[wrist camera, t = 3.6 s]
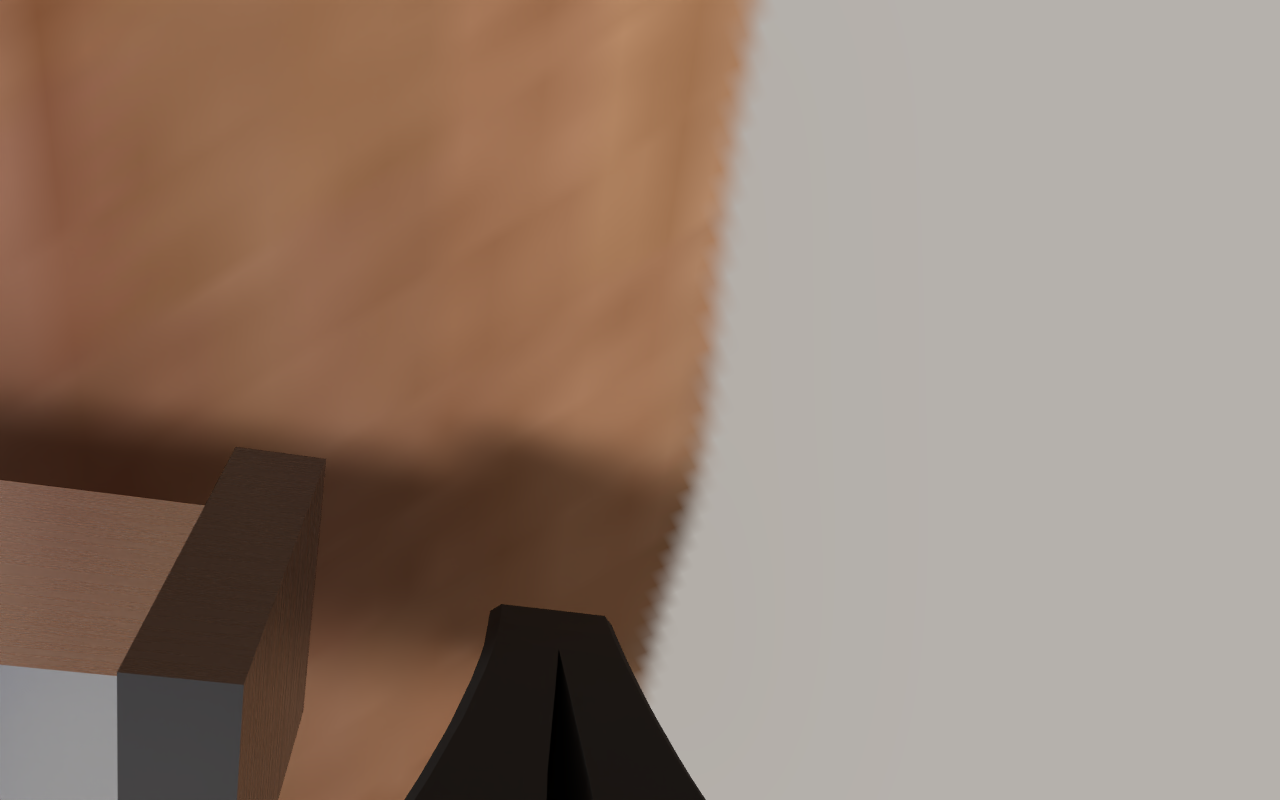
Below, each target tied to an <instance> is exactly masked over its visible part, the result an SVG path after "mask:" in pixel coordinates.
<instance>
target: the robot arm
mask: <svg viewBox="0 0 1280 800" xmlns="http://www.w3.org/2000/svg"><path fill="white" fill-rule="evenodd" d="M405 800H705V798H704V796H703V795H702V794H701V792H700V791H699V789H698V787H697V786H696V784H695V783H694V781H693V780H692V778H691V777H690V775H689V773H688V772H687V770H686V768H685V767H684V765H683V764H682V762H681V760H680V759H679V757H678V755H677V754H676V752H675V750H674V748H673V747H672V745H671V743H670V742H669V740H668V738H667V736H666V734H665V733H664V731H663V729H662V727H661V726H660V724H659V722H658V720H657V719H656V717H655V715H654V713H653V711H652V710H651V708H650V706H649V704H648V702H647V700H646V698H645V696H644V694H643V692H642V690H641V688H640V686H639V684H638V682H637V680H636V678H635V676H634V674H633V672H632V670H631V668H630V666H629V664H628V662H627V659H626V657H625V655H624V653H623V651H622V649H621V646H620V644H619V642H618V639H617V637H616V635H615V632H614V630H613V627H612V625H611V624H610V623H609V621H608V620H607V619H606V617H605V616H599V615H590V614H582V613H573V612H564V611H556V610H547V609H538V608H530V607H521V606H513V605H504V604H501V605H500V606H498V607H496V608H495V609H493V610H491V611H490V616H489V621H488V627H487V632H486V638H485V643H484V647H483V650H482V653H481V656H480V659H479V661H478V664H477V666H476V669H475V671H474V674H473V676H472V679H471V681H470V683H469V685H468V687H467V689H466V692H465V694H464V696H463V698H462V700H461V702H460V704H459V706H458V708H457V710H456V712H455V714H454V717H453V719H452V721H451V723H450V724H449V726H448V728H447V730H446V732H445V734H444V735H443V737H442V739H441V740H440V742H439V744H438V746H437V747H436V749H435V751H434V752H433V754H432V756H431V758H430V759H429V761H428V763H427V764H426V766H425V768H424V770H423V771H422V773H421V775H420V776H419V778H418V780H417V781H416V783H415V784H414V786H413V787H412V789H411V790H410V792H409V793H408V795H407V797H406V798H405Z"/></svg>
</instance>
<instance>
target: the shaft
mask: <svg viewBox="0 0 1280 800" xmlns="http://www.w3.org/2000/svg"><path fill="white" fill-rule="evenodd" d="M325 465H326V459H322V458H315V457H307V456H300V455H292V454H285V453H277V452H270V451H262V450H255V449H247V448H240V447H236V448H235V449H234V451H233V453H232V455H231V457H230V459H229V461H228V463H227V465H226V466H225V468H224V470H223V472H222V474H221V476H220V478H219V480H218V482H217V484H216V485H215V487H214V489H213V491H212V493H211V495H210V497H209V499H208V501H207V502H206V504H205V505H197V504H189V503H181V502H173V501H165V500H157V499H149V498H141V497H133V496H125V495H117V494H109V493H101V492H93V491H85V490H77V489H69V488H61V487H52V486H44V485H36V484H28V483H20V482H12V481H4V480H0V800H278V798H279V795H280V791H281V788H282V784H283V781H284V777H285V773H286V770H287V766H288V763H289V759H290V756H291V752H292V749H293V745H294V742H295V738H296V735H297V731H298V728H299V724H300V720H301V717H302V713H303V708H304V697H305V686H306V675H307V664H308V653H309V642H310V631H311V620H312V609H313V598H314V587H315V576H316V565H317V554H318V543H319V532H320V521H321V510H322V499H323V488H324V477H325Z"/></svg>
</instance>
